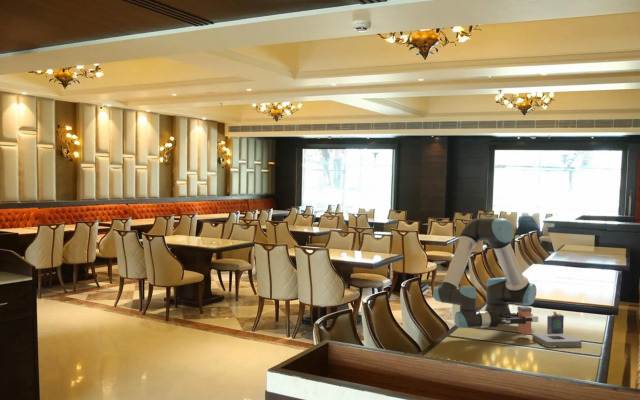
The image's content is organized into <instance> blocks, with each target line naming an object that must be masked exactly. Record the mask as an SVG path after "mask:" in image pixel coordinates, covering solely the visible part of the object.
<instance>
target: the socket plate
mask: <svg viewBox="0 0 640 400" xmlns="http://www.w3.org/2000/svg"><path fill="white" fill-rule="evenodd" d="M532 340H533V341H534V340H535V341H534V342H536V341H537V342H536V343H538V342H539V343H538V344H540V343H541V344H540V345H542V344H544V345H546V346H559V347H558V348H579V347H580V348H582V343H583V342H582V340H580V339H578V338H576V337H573V336H572V335H569V334H567V333H563V334H562V333H561V334H547V333H540V334H539V333H537V334H536V333H534V334H532ZM544 345H543V346H544Z"/></svg>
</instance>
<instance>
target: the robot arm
mask: <svg viewBox="0 0 640 400" xmlns="http://www.w3.org/2000/svg"><path fill="white" fill-rule="evenodd" d="M514 230H515V229H514V227H513V224H512V223H511V222H510V220H508V219H506V218H501V217H498V218H497V217H496V218H494V217H490V218H489V217H488V218H487V217H477V218H474V219H471V221H469V222H468V223H467V224H466V225H465V226H464V228H463V229H462V230H461V232H460V234H459V237H458V244H457V246H456V249H455V251H454V254H453V257H452V259H451V261H450V263H449V265H448V268H447V271H446V273H445V275H444V279H443V280H442V283H441V285H440V286H439V285H437V286H436V287H435V288H433V290H432V291H433V292H432V296H433V299H434V301H436V302H439V303H442V304H451V305H455V306H459V311H456V312H455V313H454V323H455V325H456V327H458V328H461V329H470V328H471V329H472V328H473V329H474V328H475V329H476V328H481V329H482V330H483V329H484V328H497V327H499V324H501V325H502V324H503V325H504V324H506V325H518V324H526V322H531V323H539V315H534V313H531V316H524V317H518V311H517V312H512V313H511V310H510V305H509V303H510V304H513V305H514V304H515V305H519V306H531V305H532V304H534V302H535V300H536V297H537V286H536V284H534V283H532V282H531V283H530V282H529V279H528V277H527V276H526V275H524V274H523V272H522V270H521V267H520V264H519V262H518V260H517V256H516V255H515V252H514V249H513V247H512V244H511V243H512V241H513V239H514V235H515V233H514ZM480 241H482V242H487V244H488V247H489V248H490V249H493V251H494V253H495V256H496V258H497V260H498V263H499V265H500V267H501V270H502V273H503V274H504V277H493V278H488V279H486V286H485V287H486V291H485V292H486V294H485V295H486V304H485V305H486V306H485V308H484V310H480V311H479V310H478V311H477V289H476V287H475V286H472V285H461V286H460V287H459V288H458V286H459V285H460V282H461V279H462V277H463V275H464V272H465V269H466V268H467V266H468V265H467V264H468V262H469V260H470V257H471V255H472V252H473V249H474V248H475V247H477V245H478V243H479V242H480Z"/></svg>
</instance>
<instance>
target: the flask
mask: <svg viewBox="0 0 640 400" xmlns="http://www.w3.org/2000/svg"><path fill="white" fill-rule="evenodd" d="M564 320H565V318H564V314H561V313H557V311H553V315H547V322H546V323H547V324H546V325H547V326H546V327H547V328H546V329H547V331H546V334H564V322H565V321H564Z"/></svg>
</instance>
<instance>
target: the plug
mask: <svg viewBox="0 0 640 400" xmlns="http://www.w3.org/2000/svg"><path fill="white" fill-rule="evenodd" d="M517 312H518V317H524V316H531V314H532V307H530V306H528V305H519V306H517ZM517 333H520V334H521V335H531V334H532V322H526V324H517Z"/></svg>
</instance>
